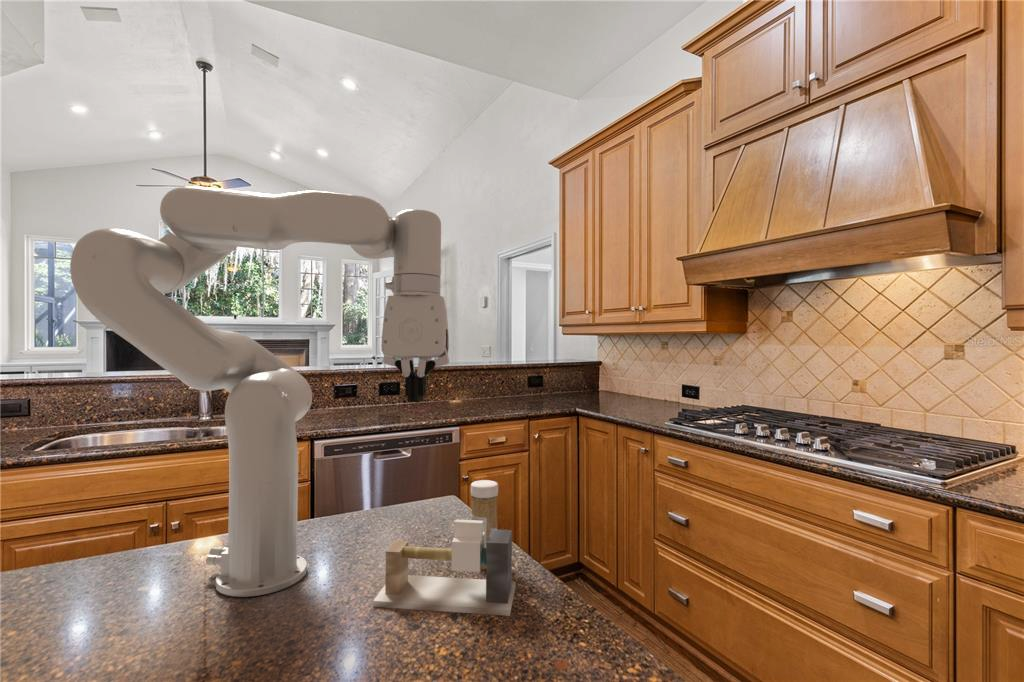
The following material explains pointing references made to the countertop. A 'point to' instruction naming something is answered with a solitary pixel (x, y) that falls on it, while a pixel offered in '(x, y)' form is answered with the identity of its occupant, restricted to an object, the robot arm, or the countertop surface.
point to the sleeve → (467, 545)
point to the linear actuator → (450, 580)
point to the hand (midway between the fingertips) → (415, 401)
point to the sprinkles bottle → (485, 505)
